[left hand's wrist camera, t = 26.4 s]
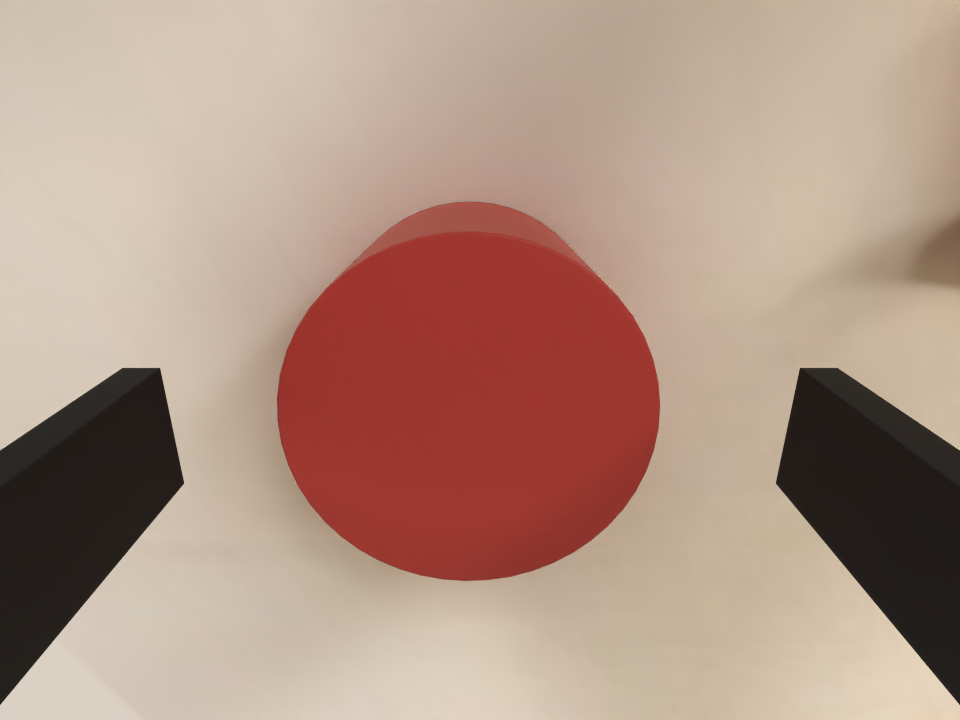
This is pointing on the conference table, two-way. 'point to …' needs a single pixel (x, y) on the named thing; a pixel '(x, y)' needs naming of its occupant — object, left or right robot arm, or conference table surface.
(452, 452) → the canister
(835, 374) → the left robot arm
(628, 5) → the conference table surface
